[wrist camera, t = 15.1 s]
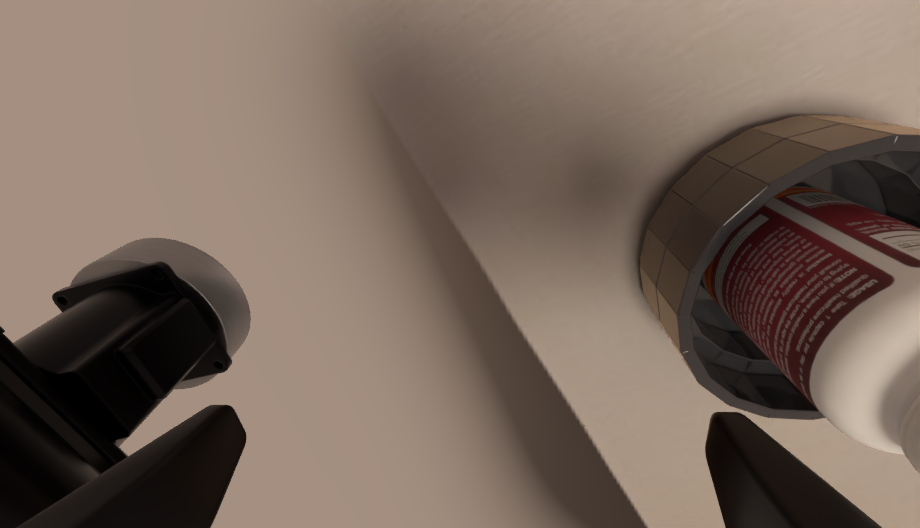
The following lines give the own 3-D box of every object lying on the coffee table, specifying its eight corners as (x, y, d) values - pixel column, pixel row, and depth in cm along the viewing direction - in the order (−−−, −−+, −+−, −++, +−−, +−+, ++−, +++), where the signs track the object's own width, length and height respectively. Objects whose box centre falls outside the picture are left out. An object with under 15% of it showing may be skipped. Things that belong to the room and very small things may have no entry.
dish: (649, 364, 23) (689, 440, 19) (620, 158, 18) (665, 193, 14) (889, 318, 21) (999, 390, 17) (926, 75, 16) (1093, 84, 12)
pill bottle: (721, 329, 21) (929, 573, 11) (673, 229, 19) (880, 423, 9) (860, 269, 19) (1252, 496, 9) (825, 152, 17) (1283, 289, 7)
